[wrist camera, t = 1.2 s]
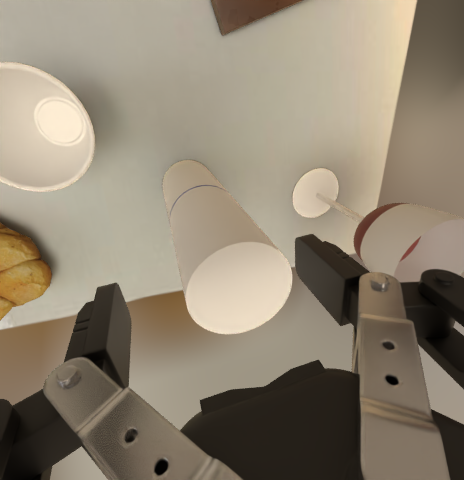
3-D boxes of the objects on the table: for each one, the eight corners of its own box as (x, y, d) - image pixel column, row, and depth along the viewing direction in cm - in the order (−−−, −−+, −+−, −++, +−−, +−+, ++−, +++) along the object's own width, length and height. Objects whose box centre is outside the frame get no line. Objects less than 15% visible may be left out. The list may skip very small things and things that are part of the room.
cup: (-8, 74, 29) (-80, 64, 20) (95, 70, 31) (74, 58, 22) (29, 170, 34) (-15, 199, 24) (117, 161, 36) (107, 184, 27)
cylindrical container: (216, 162, 39) (304, 243, 18) (210, 211, 42) (279, 330, 21) (163, 157, 37) (191, 240, 16) (160, 208, 40) (181, 338, 19)
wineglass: (346, 201, 48) (477, 270, 29) (298, 229, 48) (398, 315, 29) (335, 155, 44) (480, 200, 25) (281, 185, 44) (387, 253, 25)
